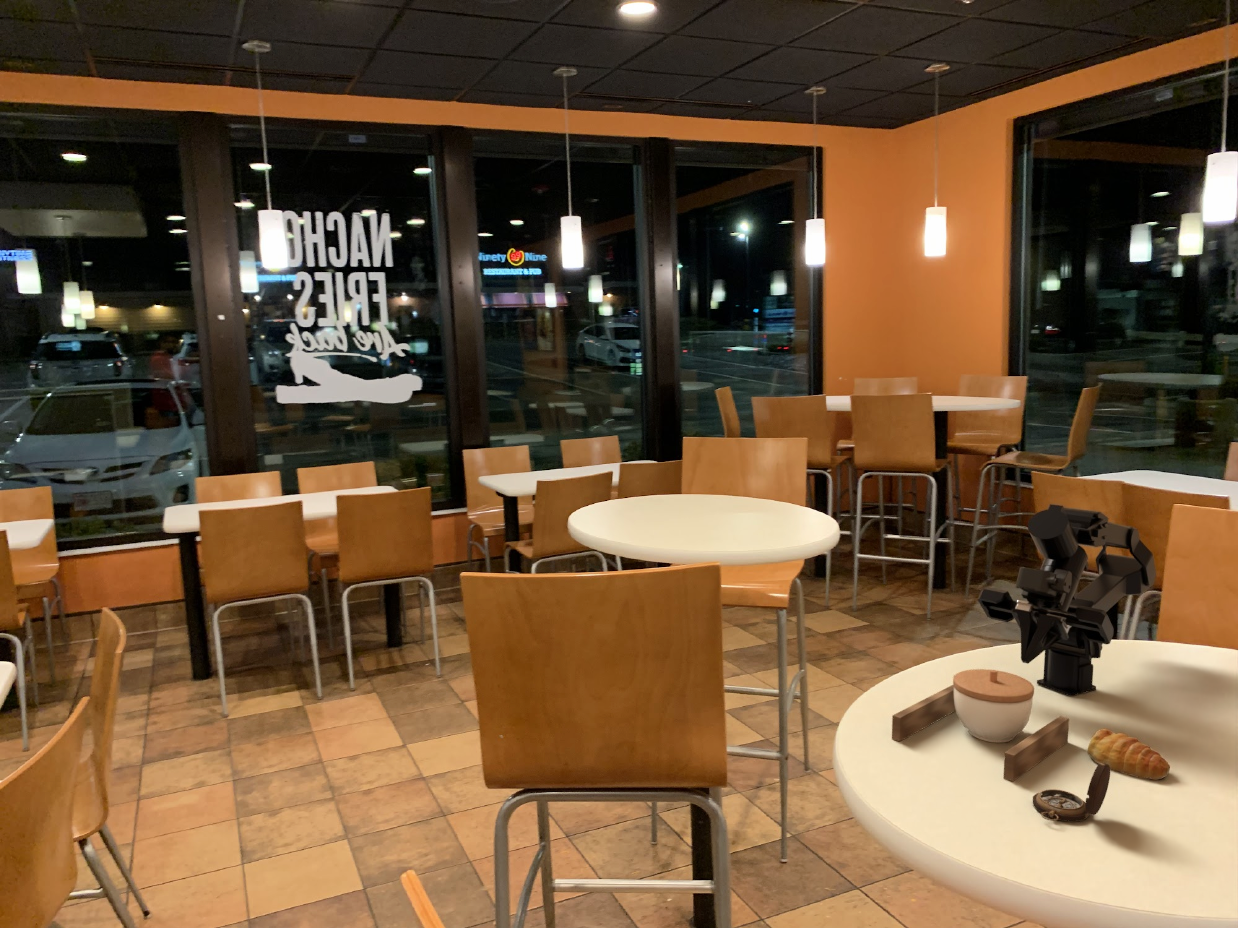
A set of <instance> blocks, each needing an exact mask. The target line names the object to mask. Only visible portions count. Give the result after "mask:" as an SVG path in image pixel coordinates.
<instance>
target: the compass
mask: <svg viewBox="0 0 1238 928" xmlns="http://www.w3.org/2000/svg"><path fill="white" fill-rule="evenodd" d="M1096 762H1097V761H1094V760H1093V763H1096ZM1098 763H1099V764H1098ZM1110 777H1111V769H1110V767H1109V765H1108V764H1105V763H1103V762H1097V765H1096V767H1095V769H1094V772H1093V773H1092V776H1091V779H1090V782H1089V784H1088V789H1087V792H1086V795H1087V796H1088V797H1086V798H1085V801H1084V800H1083V799H1081V797H1079V796H1078V795H1076V794H1075V793H1072V792H1070V791H1066V790H1062V789H1054V788H1053V789H1052V788H1051V789H1049V788H1048V789H1045V790H1041V791H1040V792H1037V793H1036V794H1034V795H1033V796H1032V804H1033V807H1034V808H1035V809H1036V810H1037V811H1038V812H1039V813H1040V814H1041V815H1040V816H1041V817H1042V818H1043V819H1045V820H1048V821H1054V822H1055V821H1062V822H1071V823H1073V822H1081V821H1084V820H1086V819H1087V818H1089V816H1090V815H1092V816H1096V814H1098V813H1099V811H1100V809H1101V807H1102V805H1103V804H1104V801H1105V798H1106V795H1107V792H1108V789H1109V784H1110ZM1045 816H1046V817H1045ZM1047 817H1048V818H1047Z"/></svg>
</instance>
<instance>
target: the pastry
mask: <svg viewBox="0 0 1238 928" xmlns="http://www.w3.org/2000/svg"><path fill="white" fill-rule="evenodd" d="M1086 753H1087V755H1088V756H1089V757H1090V758H1091V759H1092V760H1093V762H1094V761H1097V762H1103V763H1105V764H1108V765H1109V767H1110V770H1113V771H1115V772H1120V773H1123V774H1125V775H1129V776H1134V777H1137V778H1140V779H1151V780H1155V781H1158V780H1159V779H1160V780H1161V779H1163V778H1164V777H1167V776H1168V774H1169V771H1170V769H1171V765H1170V764H1169V762H1168V761H1167V760H1166V759H1165V758H1164V757H1163V756H1161V754H1160V753H1159V752H1157V751H1156V750H1153V749H1152V747H1151V746H1149V745H1147V744H1143V743H1142V742H1141V741H1140V739H1138V738H1136V737H1132V736H1131V737H1130V736H1128V734H1126V733H1123V732H1120V733H1115V732H1113V731H1112V730H1110V729H1109V728H1108V729H1107V728H1102V729H1099V730H1097V731H1096V733H1095V734H1094V735H1093V736H1092V737H1091V739H1090V741H1089V743H1088V746H1087V749H1086ZM1097 762H1095V763H1097ZM1098 764H1099V763H1097V765H1098Z"/></svg>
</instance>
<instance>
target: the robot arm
mask: <svg viewBox="0 0 1238 928" xmlns="http://www.w3.org/2000/svg"><path fill="white" fill-rule="evenodd" d="M1108 517H1109V516H1107V515H1106V514H1104V513H1103V512H1102V511H1097V510H1091V509H1090V510H1089V509H1081V508H1073V507H1065V506H1064V505H1062V504H1053V503H1050V504H1049V505H1048V508H1047V509H1044V510H1040V511H1038V512H1036V513H1035V514H1033V516H1032V517H1030V518H1029V520H1028V522H1027V529H1028V532H1029V534H1030V536H1031V538H1032V540H1033V543H1034V545H1035V547H1036V549H1037V550H1038V552H1039V554H1040V555H1041V556H1042V557H1043V558H1044V559H1043V561H1042V564H1041V567H1040V569H1039V568H1036V569H1035V568H1030V567H1024V566H1021V567H1019V571H1018V575H1017V579H1016V581H1015V588H1016V589H1021V590H1022V591H1021V593H1020V595H1021V596H1022V599H1026V600H1022V599H1021V600H1019V599H1016V600H1013V598H1012V596H1011V594H1010V592H1009V591H1008V590H1003V589H997V588H992V587H985V588H983V589H982V590H981V591H980V592H979V595H978V597H977V599H976V600H977V602H978V603H979V605H980V607H981V608H982V611H983V612H984V613H985V615H986V617H987V618H989V619H992V620H995V621H998V622H1004V623H1008V622H1011V621H1013V620H1015V622H1016V624H1017V625H1018V628H1019V629H1020V660H1021V662H1022V663H1024V664H1027V665H1028V664H1030V663H1032V662H1033V660H1035V659H1036V658H1037V657H1038V656H1039V655H1041V654H1042V653H1043V652H1044V660H1043V661H1044V662H1043V677H1042V678H1040V679H1037V680H1036V684H1037V685H1039V686H1041V687H1045V688H1048V689H1050V690H1052V691H1055V692H1057V693H1062V694H1064V695H1066V696H1070V697H1072V696H1077V695H1081V694H1085V693H1088V692H1092V691H1095V690H1097V686H1096V685H1095V684H1094V685H1093V682H1094V681H1093V679H1094V678H1093V677H1094V664H1093V663H1092V659H1100V658H1101V656H1102V653H1101V652H1102V650H1103V645H1110V644H1111V642H1112V639H1113V637H1114V632H1115V631H1114V630H1115V629H1114V626H1113V624H1112V623H1111V620H1110V618H1109V615H1108V614H1107V612H1108V611H1109V610H1110V609H1111V608H1113V606H1115V605H1116V604H1117V603H1118V602H1119V601H1120V600H1121V599H1122V598H1124V597H1125V596H1136V595H1137V596H1138V595H1142V594H1143V593H1145V592H1147V591H1148V590H1149V589H1150V588H1151V587H1153V586H1154V584H1155V581H1156V576H1157V575H1156V574H1157V571H1156V570H1157V569H1156V565H1155V559H1154V554H1153V552H1152V551H1151V550H1150V549H1149V548H1148V547H1147V545H1146V544H1144V543H1143V541H1141V539H1140V532H1139V530H1138V528H1137V527H1136V528H1135V527H1133V526H1132V525H1124V524H1123V525H1122V524H1117V523H1114V522H1111V521H1109V519H1110V518H1108ZM1083 546H1084V547H1089V548H1091V547H1092V548H1099V547H1101V549H1100V550H1099V552H1098V554H1097V556H1096V557H1095V565H1096V569H1097V574H1098V576H1097V577H1096V578H1095V579H1094V580H1092V581H1091V582H1090V583H1089V584H1088V585H1086V586H1085V587H1083V588H1082V590H1080V591H1079V592H1077V589H1078V588H1077V587H1078V585H1079V582H1080V580H1081V577H1082V575H1083V572H1084V570H1085V571H1086V570H1089V562H1088V560H1089V555H1088V554H1087V551H1086V550H1085V549H1084V548H1083ZM1108 547H1110V548H1111V547H1112V548H1117V549H1125V550H1129V554H1130V555H1131V556H1128V555H1127V556H1126V555H1121V554H1114V553H1108V552H1107V548H1108Z"/></svg>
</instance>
